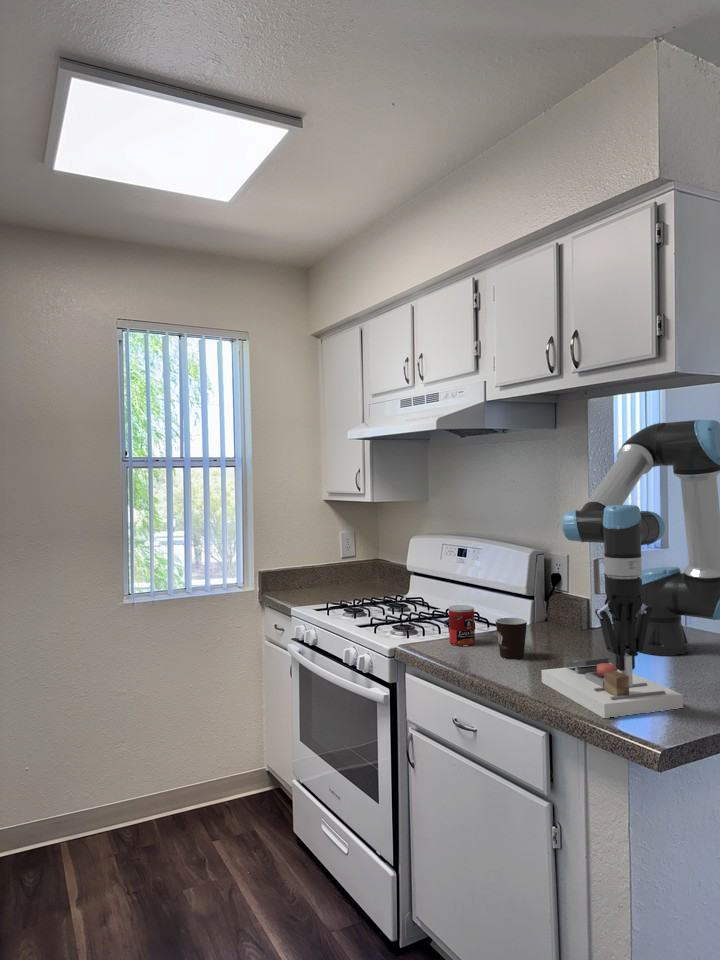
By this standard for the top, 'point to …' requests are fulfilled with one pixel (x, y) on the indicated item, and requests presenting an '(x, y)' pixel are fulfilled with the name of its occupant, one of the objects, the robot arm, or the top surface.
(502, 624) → the coffee mug
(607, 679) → the slider knob
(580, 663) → the tall dark grey panel
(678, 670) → the top surface
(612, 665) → the red button
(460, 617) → the canned food
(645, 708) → the panel
